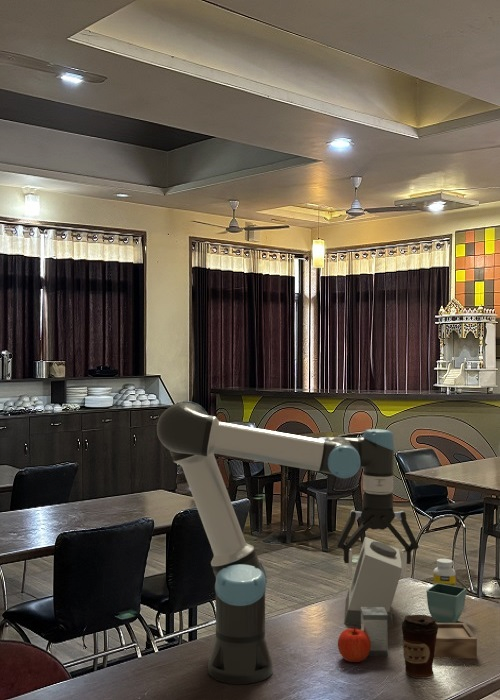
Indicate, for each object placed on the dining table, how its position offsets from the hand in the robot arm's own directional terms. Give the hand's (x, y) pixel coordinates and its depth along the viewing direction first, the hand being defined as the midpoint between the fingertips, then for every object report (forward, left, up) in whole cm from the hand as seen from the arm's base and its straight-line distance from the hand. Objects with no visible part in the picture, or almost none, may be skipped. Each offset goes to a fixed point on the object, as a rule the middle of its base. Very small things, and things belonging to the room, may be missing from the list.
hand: (376, 576), depth 197 cm
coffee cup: (+8, -14, -19) cm, 25 cm away
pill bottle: (+26, +41, -19) cm, 52 cm away
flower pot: (+22, +21, -19) cm, 36 cm away
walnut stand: (+18, +1, -19) cm, 26 cm away
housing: (-1, 0, -19) cm, 19 cm away
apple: (-6, -6, -19) cm, 21 cm away
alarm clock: (+3, +28, -19) cm, 34 cm away
